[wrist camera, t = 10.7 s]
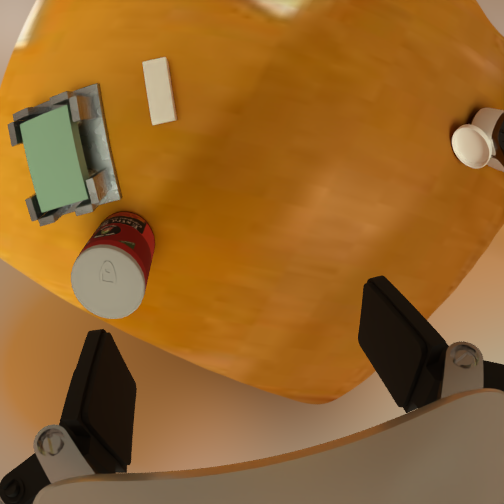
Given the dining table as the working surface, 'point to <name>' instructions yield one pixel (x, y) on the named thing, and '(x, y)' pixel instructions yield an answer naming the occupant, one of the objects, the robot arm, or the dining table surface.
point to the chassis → (94, 148)
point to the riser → (159, 90)
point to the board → (55, 158)
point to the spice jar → (481, 140)
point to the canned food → (114, 266)
